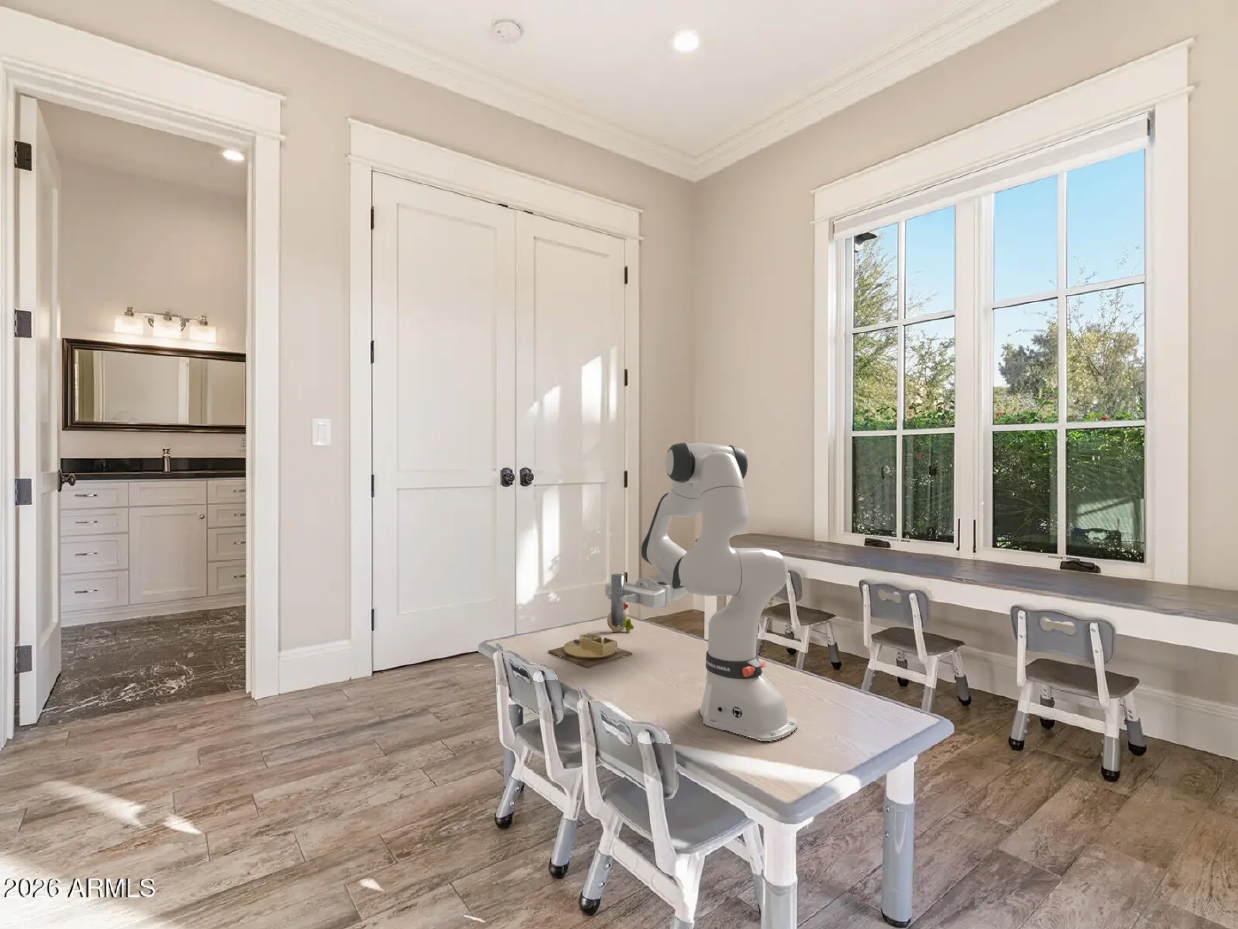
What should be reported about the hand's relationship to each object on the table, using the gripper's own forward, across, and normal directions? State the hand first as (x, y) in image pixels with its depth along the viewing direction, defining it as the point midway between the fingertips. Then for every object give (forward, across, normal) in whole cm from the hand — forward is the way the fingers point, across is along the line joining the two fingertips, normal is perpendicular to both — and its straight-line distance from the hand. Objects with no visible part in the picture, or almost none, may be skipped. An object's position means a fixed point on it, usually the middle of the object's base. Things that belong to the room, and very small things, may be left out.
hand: (615, 598), depth 179 cm
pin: (-1, 0, +8) cm, 8 cm away
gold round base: (-2, -12, +19) cm, 23 cm away
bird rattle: (-25, -24, +20) cm, 39 cm away
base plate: (-2, -12, +19) cm, 23 cm away
